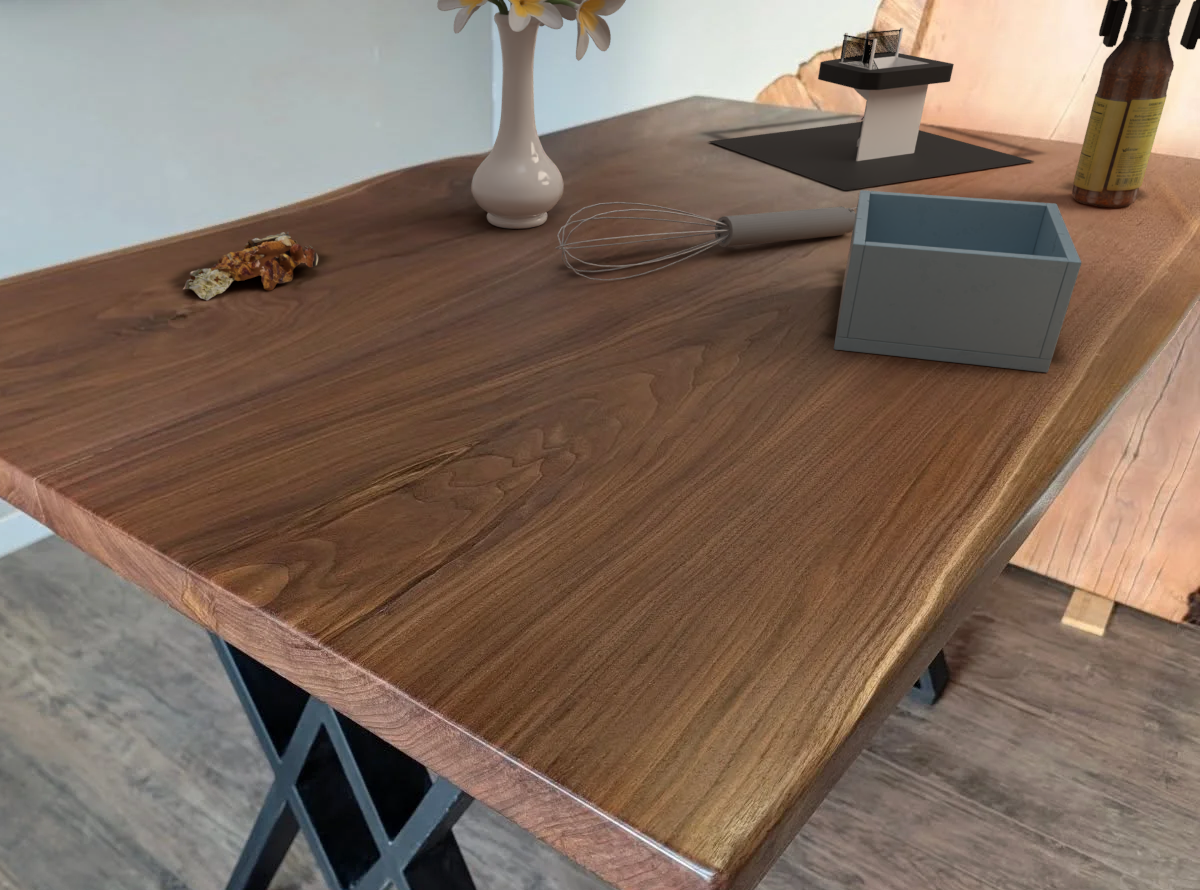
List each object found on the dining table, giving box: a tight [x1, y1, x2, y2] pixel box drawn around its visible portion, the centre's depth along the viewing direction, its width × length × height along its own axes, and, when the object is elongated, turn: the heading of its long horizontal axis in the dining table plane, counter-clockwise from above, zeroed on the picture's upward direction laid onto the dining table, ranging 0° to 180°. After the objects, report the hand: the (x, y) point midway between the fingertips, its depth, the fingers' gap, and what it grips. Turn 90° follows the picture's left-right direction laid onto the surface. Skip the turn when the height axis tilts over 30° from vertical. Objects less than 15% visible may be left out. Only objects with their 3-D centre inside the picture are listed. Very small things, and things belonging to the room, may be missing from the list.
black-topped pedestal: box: [708, 27, 1035, 191], centre depth 125 cm, size 28×26×13 cm
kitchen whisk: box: [554, 201, 857, 282], centre depth 95 cm, size 6×34×6 cm, turn 115°
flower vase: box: [436, 0, 627, 230], centre depth 100 cm, size 13×18×25 cm
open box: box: [833, 189, 1082, 374], centre depth 80 cm, size 15×15×8 cm
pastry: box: [182, 231, 319, 301], centre depth 92 cm, size 7×12×4 cm, turn 137°
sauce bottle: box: [1071, 0, 1181, 208], centre depth 104 cm, size 7×6×20 cm
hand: (1147, 44), depth 101 cm, fingers open, 6 cm apart
